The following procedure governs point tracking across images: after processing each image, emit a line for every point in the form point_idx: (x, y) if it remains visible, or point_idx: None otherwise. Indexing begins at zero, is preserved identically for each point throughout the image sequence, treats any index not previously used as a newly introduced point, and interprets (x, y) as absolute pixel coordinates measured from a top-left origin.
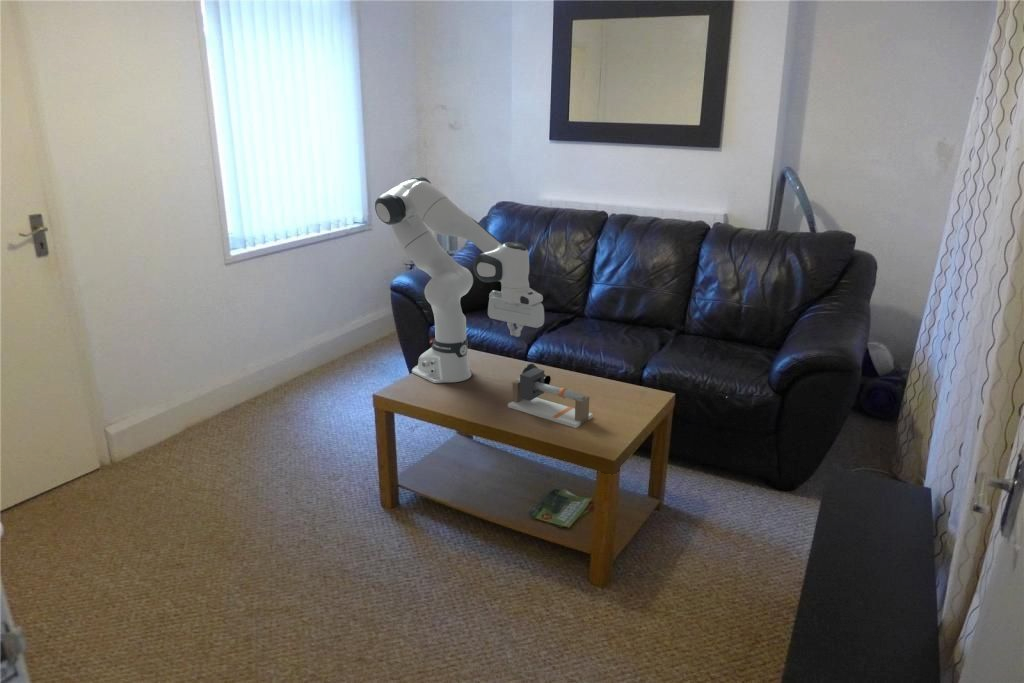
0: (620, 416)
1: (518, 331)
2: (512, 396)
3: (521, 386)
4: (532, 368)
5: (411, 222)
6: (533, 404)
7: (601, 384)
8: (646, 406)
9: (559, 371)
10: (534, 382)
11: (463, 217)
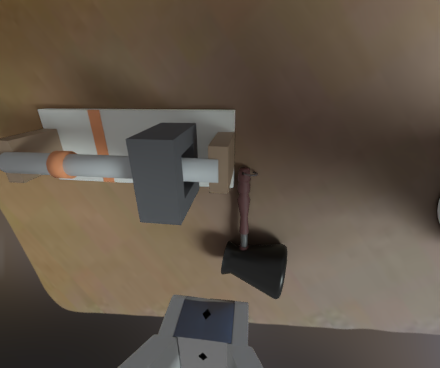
0: (39, 207)
1: (153, 343)
2: (232, 135)
3: (179, 130)
4: (264, 278)
5: None
6: None
7: (156, 301)
8: (46, 261)
9: (253, 319)
10: None
11: None
